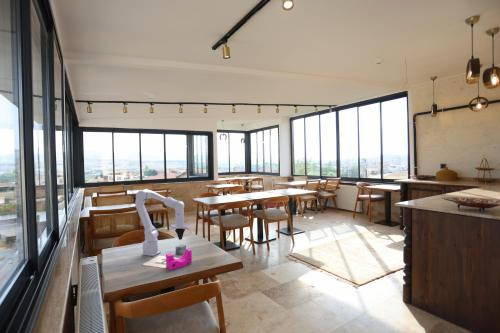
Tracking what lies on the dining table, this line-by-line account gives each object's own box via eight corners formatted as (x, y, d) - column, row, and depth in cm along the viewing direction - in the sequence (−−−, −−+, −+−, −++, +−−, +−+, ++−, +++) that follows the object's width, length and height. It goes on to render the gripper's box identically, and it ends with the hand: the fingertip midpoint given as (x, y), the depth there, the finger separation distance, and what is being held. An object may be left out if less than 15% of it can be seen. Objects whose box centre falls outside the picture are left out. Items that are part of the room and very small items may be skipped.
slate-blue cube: (175, 253, 187) (175, 246, 187) (180, 251, 192) (179, 244, 191) (182, 254, 185) (181, 247, 185) (186, 252, 190) (186, 245, 190)
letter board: (142, 264, 169) (142, 264, 169) (159, 255, 184) (159, 255, 184) (165, 268, 163) (165, 267, 163) (180, 258, 178) (180, 258, 178)
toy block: (170, 270, 160) (170, 257, 160) (166, 266, 165) (165, 254, 164) (193, 263, 170) (193, 251, 169) (188, 260, 174) (188, 248, 174)
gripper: (167, 220, 186) (167, 240, 186) (185, 221, 181) (186, 242, 181) (173, 217, 192) (174, 237, 193) (191, 219, 187) (192, 238, 188)
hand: (180, 239), depth 188 cm, fingers closed
